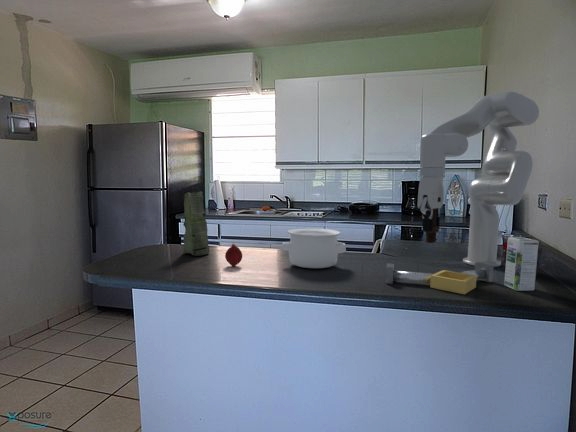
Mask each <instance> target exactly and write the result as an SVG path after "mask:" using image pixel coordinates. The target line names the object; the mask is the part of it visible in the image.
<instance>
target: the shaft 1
mask: <svg viewBox="0 0 576 432" xmlns="http://www.w3.org/2000/svg"><path fill="white" fill-rule="evenodd" d="M394 267H395V264H394V263H386V265H385V284H388V285H393V284H394V281H395V282H405V283H406V282H407V283H414V284H415V283H418V284H427V285H430V282H431V275H433V274H434V273H431V272H430V273H429V272H419V271H418V272H417V271H403V270H394Z"/></svg>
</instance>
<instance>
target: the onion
mask: <svg viewBox="0 0 576 432" xmlns="http://www.w3.org/2000/svg"><path fill="white" fill-rule="evenodd" d="M224 256H225V260H226V262H227V263H228V264H229V265H230V266H232V267H236V266H237V265H238V264H240V262H242V260H243V252H242V250H241V249H240V248H239V246H237V245H236V244H235V243H234V242H233V243H232V244H231V246H230V247H229V248H228V249H227V250H226V252H225V254H224Z"/></svg>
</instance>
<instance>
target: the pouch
mask: <svg viewBox="0 0 576 432" xmlns="http://www.w3.org/2000/svg"><path fill="white" fill-rule="evenodd" d="M203 200H204V196H203V191H202V190H200V191H198V192H196V191H194V190H193V191H192V192H186V193H184V194H183V206H184V208H183V209H184V212H183V216H184V221H183V227H184V228H185V229H184V230H185V231H184V234H183V246H182V254H189V255H192V256H193V257H194V256H195V257H199V256H206V255H209V253H210V245H209V237H208V223H207V220H206V213H205V209H204V201H203Z"/></svg>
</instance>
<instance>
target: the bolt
mask: <svg viewBox="0 0 576 432" xmlns="http://www.w3.org/2000/svg"><path fill="white" fill-rule="evenodd" d="M438 202H441V197H438ZM426 209H430V208H429V207H426ZM428 212H429V213H430V211H428ZM436 216H437V208H436V209H433V214H432V219H433V231H423V232H424V233H425V242H426V244H434V243H436V242H437V233H439V230H440V226H439V227H438V226H436Z"/></svg>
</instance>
